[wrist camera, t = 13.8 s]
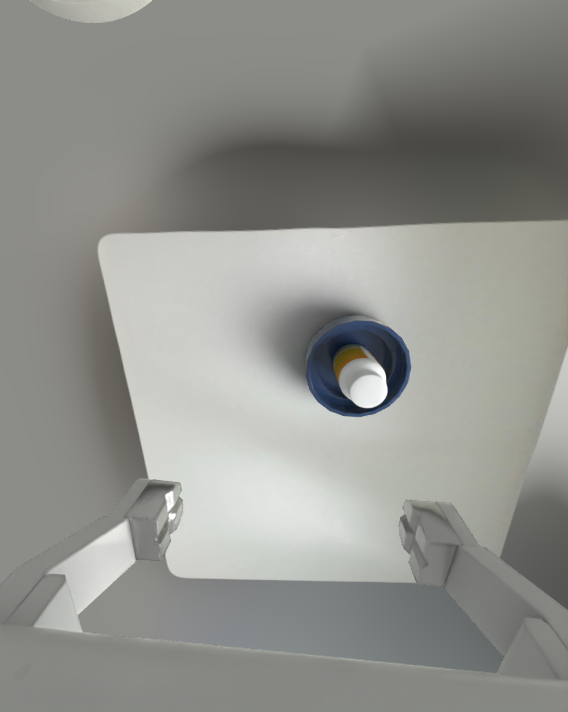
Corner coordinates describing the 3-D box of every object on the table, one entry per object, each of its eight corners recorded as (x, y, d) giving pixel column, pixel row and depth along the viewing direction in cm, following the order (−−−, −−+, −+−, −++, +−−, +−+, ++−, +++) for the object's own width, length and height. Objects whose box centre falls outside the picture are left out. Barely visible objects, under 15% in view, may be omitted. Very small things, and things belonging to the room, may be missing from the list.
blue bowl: (308, 312, 37) (310, 317, 32) (406, 317, 36) (420, 323, 32) (302, 398, 41) (303, 413, 36) (389, 403, 40) (400, 420, 36)
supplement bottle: (325, 370, 38) (334, 402, 29) (343, 337, 37) (358, 360, 28) (359, 385, 39) (378, 421, 30) (378, 352, 37) (404, 380, 28)
